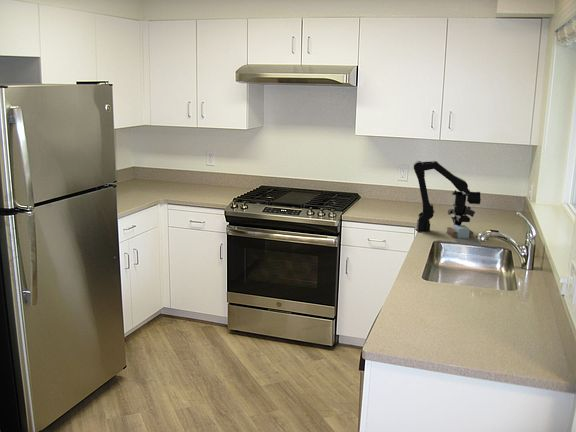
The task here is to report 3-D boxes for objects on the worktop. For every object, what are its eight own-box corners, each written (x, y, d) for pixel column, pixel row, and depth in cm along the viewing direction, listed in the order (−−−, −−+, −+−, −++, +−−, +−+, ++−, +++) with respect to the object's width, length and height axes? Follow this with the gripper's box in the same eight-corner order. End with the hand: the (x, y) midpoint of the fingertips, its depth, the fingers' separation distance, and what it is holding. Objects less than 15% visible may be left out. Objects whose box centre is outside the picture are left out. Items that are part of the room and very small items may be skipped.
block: (458, 237, 321) (458, 228, 320) (452, 233, 328) (453, 224, 327) (468, 237, 321) (469, 228, 320) (463, 233, 329) (464, 225, 328)
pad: (459, 244, 310) (459, 243, 310) (451, 238, 321) (451, 237, 321) (482, 244, 310) (482, 244, 310) (473, 238, 322) (473, 237, 322)
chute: (451, 238, 321) (452, 232, 320) (445, 233, 331) (446, 227, 330) (473, 238, 322) (474, 232, 321) (467, 233, 332) (467, 227, 331)
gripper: (481, 207, 318) (477, 235, 322) (468, 199, 336) (465, 226, 340) (460, 206, 317) (457, 235, 321) (448, 199, 335) (446, 226, 339)
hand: (457, 230), depth 331 cm, fingers closed
